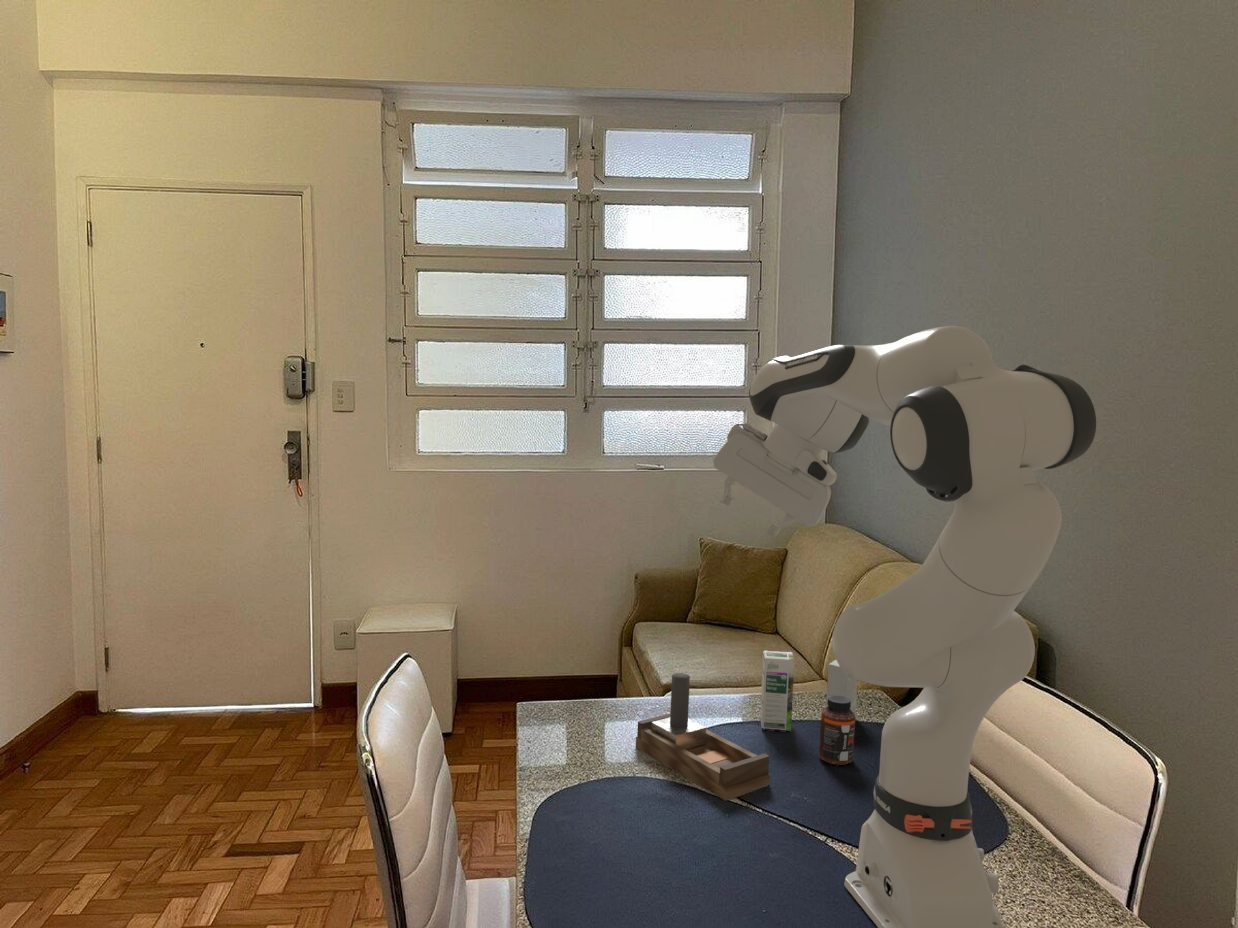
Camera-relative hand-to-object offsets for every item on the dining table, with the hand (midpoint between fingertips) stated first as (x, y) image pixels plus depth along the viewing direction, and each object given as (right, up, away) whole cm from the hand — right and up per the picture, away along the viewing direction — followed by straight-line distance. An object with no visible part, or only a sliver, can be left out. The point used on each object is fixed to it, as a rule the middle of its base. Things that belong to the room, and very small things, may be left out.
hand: (747, 519), depth 145 cm
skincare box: (+23, -43, +28) cm, 56 cm away
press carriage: (-11, -41, +10) cm, 43 cm away
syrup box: (+9, -43, +24) cm, 50 cm away
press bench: (-8, -43, +5) cm, 44 cm away
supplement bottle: (+17, -44, +9) cm, 48 cm away
